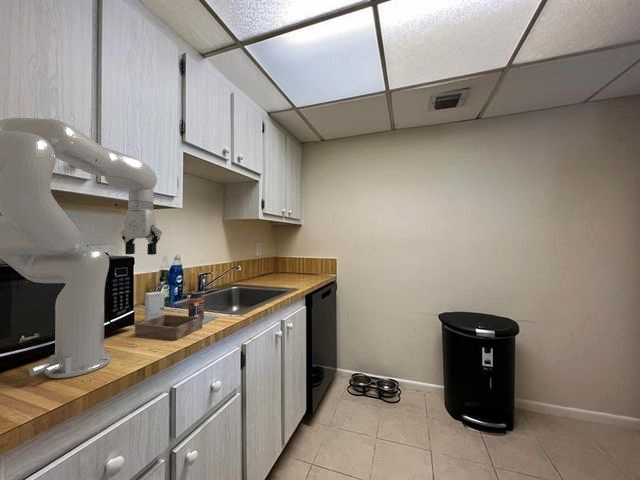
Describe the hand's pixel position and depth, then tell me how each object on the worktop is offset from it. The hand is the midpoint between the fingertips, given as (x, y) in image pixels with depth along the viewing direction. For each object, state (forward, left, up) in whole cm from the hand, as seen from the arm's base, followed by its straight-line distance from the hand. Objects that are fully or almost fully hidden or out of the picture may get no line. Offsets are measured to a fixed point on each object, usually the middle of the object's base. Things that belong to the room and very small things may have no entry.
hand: (140, 254), depth 96 cm
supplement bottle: (+17, -10, -28) cm, 34 cm away
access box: (+3, -10, -28) cm, 30 cm away
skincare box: (+11, +5, -28) cm, 31 cm away
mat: (+17, -10, -28) cm, 34 cm away
